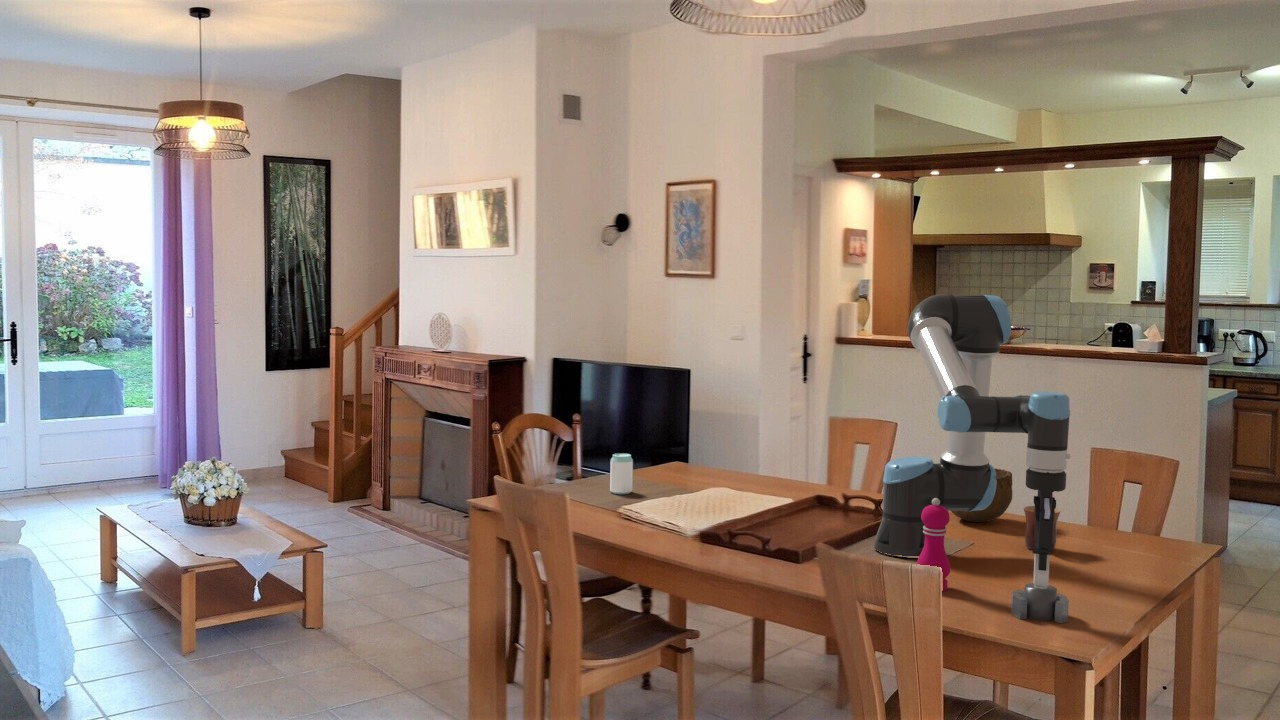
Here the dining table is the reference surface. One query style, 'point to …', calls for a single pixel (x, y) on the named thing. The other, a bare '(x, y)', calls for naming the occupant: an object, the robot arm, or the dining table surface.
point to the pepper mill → (935, 538)
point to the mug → (1031, 527)
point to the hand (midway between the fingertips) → (1040, 584)
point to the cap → (1040, 602)
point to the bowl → (998, 503)
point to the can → (621, 474)
